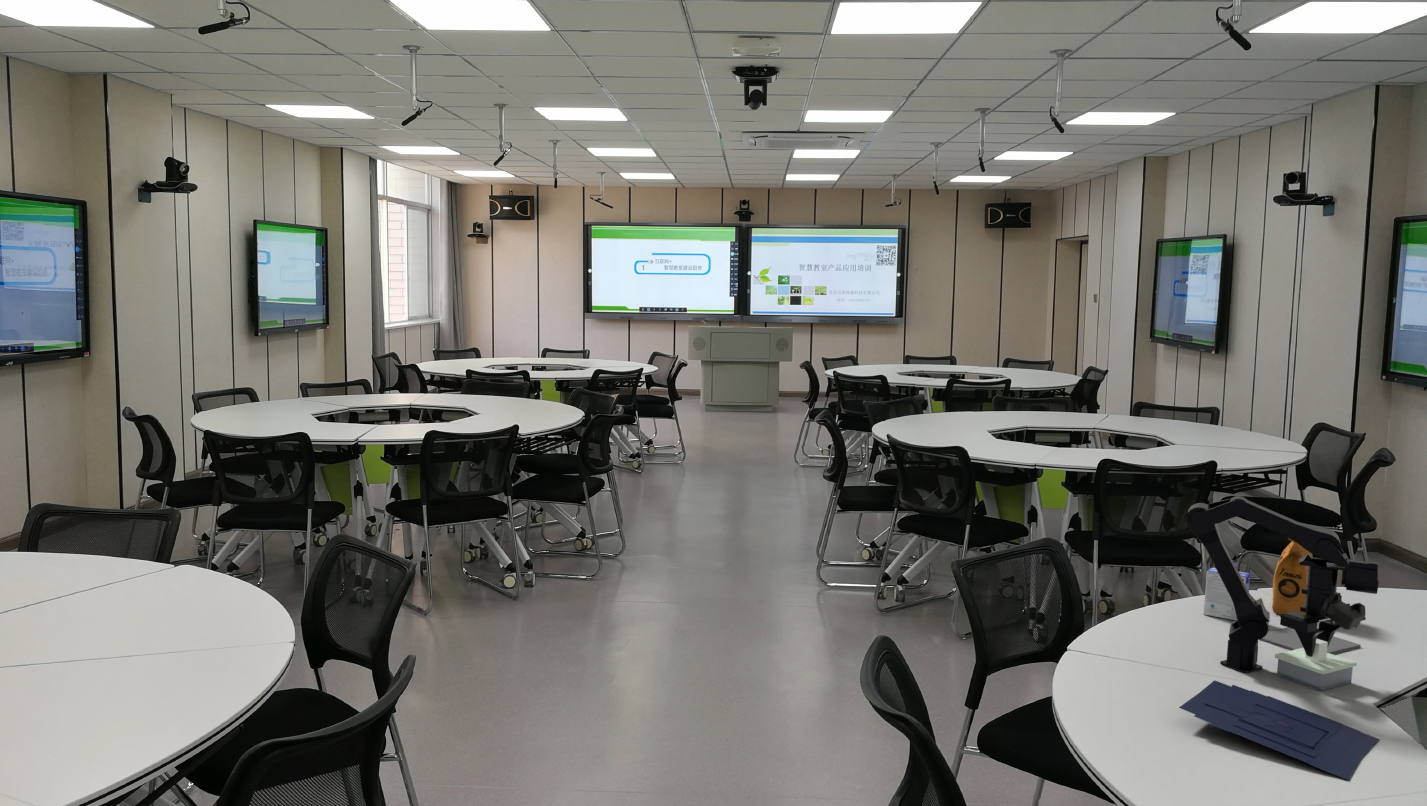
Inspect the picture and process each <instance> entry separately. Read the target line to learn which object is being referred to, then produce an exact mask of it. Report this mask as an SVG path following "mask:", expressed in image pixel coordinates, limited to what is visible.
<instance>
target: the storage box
mask: <svg viewBox="0 0 1427 806" xmlns="http://www.w3.org/2000/svg"><path fill="white" fill-rule="evenodd" d="M1353 668H1354V667H1350V668H1346V669H1342V670H1339V671H1335V672H1331V673H1327V674H1320V673H1317V672H1314V671H1311V670H1308V669H1306V668H1303V667H1300V666H1297V665H1294V664H1291V663H1288V662H1285V661H1283V660H1280V659H1277V667H1276V670H1277V671H1276V676H1278V677H1281V678H1284V679H1286V680H1289V681H1291V682H1294V683H1297V684H1300V685H1303V686H1305V687H1308V688H1311V689H1313V690H1316V691H1319V692H1322V691H1326V690H1330V689H1334V688H1337V687H1340V686H1341V687H1342V686H1345V685H1348V684H1351V683H1352V679H1353V678H1352V677H1353Z"/></svg>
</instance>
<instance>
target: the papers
mask: <svg viewBox="0 0 1427 806" xmlns="http://www.w3.org/2000/svg"><path fill="white" fill-rule="evenodd" d="M1178 708H1179V709H1180V710H1183V711H1185V712H1188V713H1190V714H1194V716H1193V717H1195V718H1197V719H1199V720H1202V721H1204V722H1207V723H1210V725H1211V726H1214V727H1216V728H1218V729H1221V730H1224V731H1226V732H1228V733H1231V734H1235V735H1238V736H1240V737H1243V738H1245V739H1247V740H1250V741H1253V742H1255V743H1257V744H1260V745H1262V746H1265V747H1267V748H1270V749H1272V750H1274V751H1278V752H1279V753H1283V754H1285V755H1287V756H1289V757H1292V758H1294V759H1297V760H1299V761H1302V762H1304V763H1305V764H1308V765H1310V766H1312V767H1315V768H1317V769H1320V770H1321V771H1325V772H1326V773H1330V774H1331V775H1334V776H1337V777H1340V778H1343V779H1344V780H1347V781H1348V780H1350V778H1351V776H1352V774H1353V772H1354V771H1355V769H1356V767H1357V766H1358V764H1359V763H1360V761H1361V758H1362V757H1363V756H1364V755H1365V754H1366V753H1367V752H1368V751H1369V750H1371V749H1372V747H1373V746H1374V745H1376V743H1377V742H1378V741H1379V740H1380V739H1379V738H1377V737H1375V736H1373V735H1370V734H1367V733H1365V732H1362V731H1361V730H1358V729H1356V728H1353V727H1350V726H1348V725H1346V724H1343V723H1342V722H1339V721H1337V720H1334V719H1331V718H1328V717H1327V716H1323V715H1320V714H1318V713H1315V712H1312V711H1311V710H1307V709H1304V708H1301V707H1299V706H1297V705H1293V704H1291V703H1289V702H1285V701H1283V700H1280V699H1278V698H1275V697H1271V696H1269V695H1264V694H1262V693H1259V692H1256V691H1254V690H1249V689H1246V688H1243V687H1241V686H1237V685H1235V684H1232V685H1229V684H1225V683H1223V682H1220V681H1218V680H1213V681H1212V682H1210V684H1208V685H1206V687H1204V688H1203V689H1202V690H1201V691H1200V692H1198V693H1197V694H1195V695H1194V696H1193V697H1191V698H1190V699H1189V700H1187V701H1186V702H1185V703H1182V705H1180V706H1179V707H1178Z"/></svg>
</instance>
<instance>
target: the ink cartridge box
mask: <svg viewBox="0 0 1427 806" xmlns="http://www.w3.org/2000/svg"><path fill="white" fill-rule="evenodd" d="M1234 564H1235V566H1236V568H1237V569H1238V562H1234ZM1238 572H1239V574H1240V576H1241V578H1242V580H1243V582H1244V584H1245V586H1246V588H1247V590H1248V592H1249V593H1250V581H1251V573H1250V572H1243V571H1238ZM1205 575H1206V576H1205V588H1204V589H1205V591H1204V592H1205V593H1204V603H1203V615H1204V616H1205V615H1206V616H1211V617H1216V618H1221V619H1227V620H1232V621H1237V617H1236V612H1235V608H1234V604H1233V601H1232V599H1231V597H1230V595H1229V593H1228V591H1227V589H1226V587H1225V585H1224V583H1223V581H1222V579H1221V577H1220V575H1219V573H1218V571H1217V570H1216V568H1215V567H1210V568H1209V569H1208V570H1207V571H1206V574H1205Z"/></svg>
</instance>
